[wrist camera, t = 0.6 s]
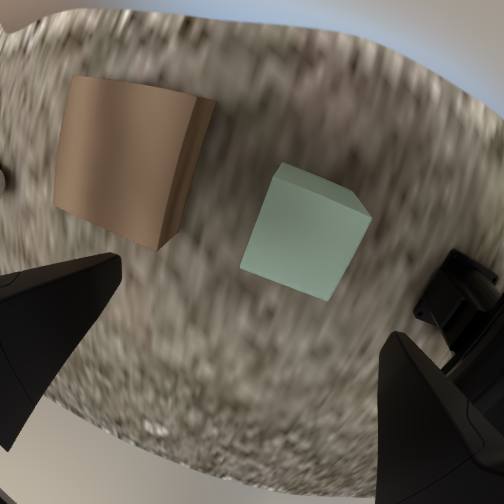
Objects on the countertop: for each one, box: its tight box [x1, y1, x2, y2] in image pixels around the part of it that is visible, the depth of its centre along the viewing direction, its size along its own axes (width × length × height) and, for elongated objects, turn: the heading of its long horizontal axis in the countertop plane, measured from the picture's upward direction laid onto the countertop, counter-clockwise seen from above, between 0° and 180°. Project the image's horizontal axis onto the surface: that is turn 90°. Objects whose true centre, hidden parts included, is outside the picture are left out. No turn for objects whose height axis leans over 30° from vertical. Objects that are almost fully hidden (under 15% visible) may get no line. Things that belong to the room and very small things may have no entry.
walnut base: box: [53, 76, 216, 252], centre depth 18 cm, size 10×10×4 cm
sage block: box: [239, 162, 372, 301], centre depth 16 cm, size 5×5×6 cm
